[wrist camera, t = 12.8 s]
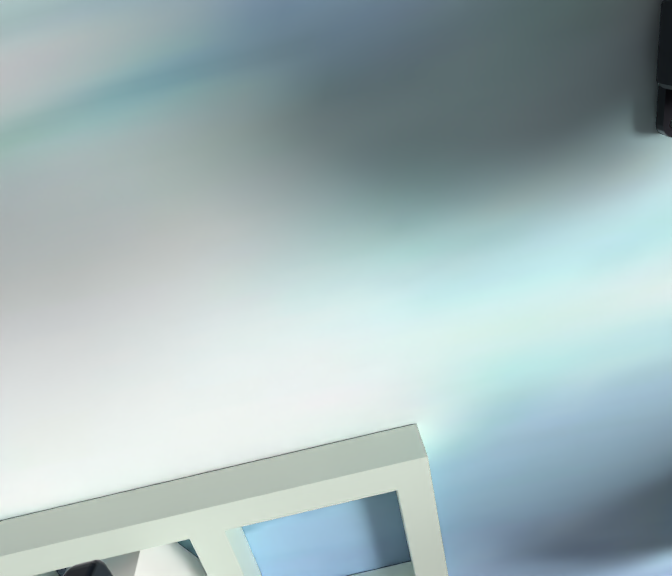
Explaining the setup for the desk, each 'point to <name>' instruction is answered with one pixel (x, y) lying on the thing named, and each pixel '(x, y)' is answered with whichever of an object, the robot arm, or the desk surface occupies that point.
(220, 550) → the socket board
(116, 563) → the white upright block
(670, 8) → the robot arm
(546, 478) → the desk surface
